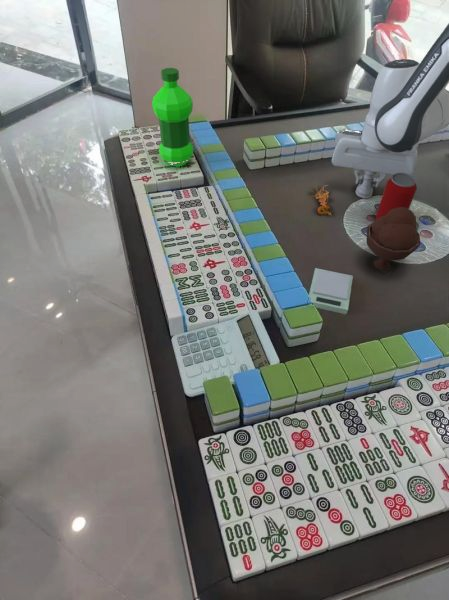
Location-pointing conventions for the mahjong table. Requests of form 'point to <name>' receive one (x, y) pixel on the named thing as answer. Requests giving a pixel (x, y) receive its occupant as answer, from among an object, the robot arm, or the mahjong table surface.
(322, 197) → the dragon
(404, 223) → the ice cream bowl
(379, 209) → the beverage can
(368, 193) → the rook chess piece
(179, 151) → the plastic bottle
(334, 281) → the scale
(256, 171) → the mahjong table surface
